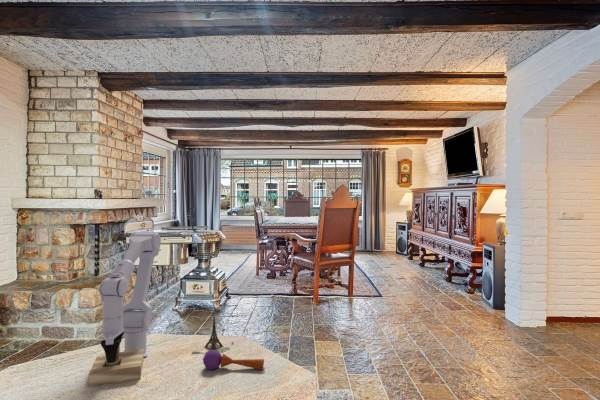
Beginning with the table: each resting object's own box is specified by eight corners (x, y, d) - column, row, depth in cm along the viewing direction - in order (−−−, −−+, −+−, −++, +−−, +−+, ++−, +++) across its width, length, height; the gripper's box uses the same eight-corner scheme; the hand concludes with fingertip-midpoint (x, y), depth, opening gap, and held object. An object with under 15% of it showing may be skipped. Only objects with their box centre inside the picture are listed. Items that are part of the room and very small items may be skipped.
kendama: (262, 362, 113) (201, 356, 114) (261, 378, 114) (200, 372, 115) (265, 351, 119) (206, 345, 119) (263, 366, 120) (206, 361, 121)
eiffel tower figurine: (190, 355, 127) (190, 318, 127) (194, 344, 137) (195, 310, 137) (232, 353, 129) (232, 317, 129) (233, 342, 139) (234, 309, 139)
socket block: (97, 366, 117) (97, 354, 117) (143, 360, 121) (143, 349, 121) (89, 386, 104) (89, 372, 104) (140, 378, 109) (140, 365, 109)
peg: (107, 370, 112) (108, 345, 112) (120, 369, 113) (121, 344, 113) (104, 375, 109) (105, 349, 109) (117, 374, 110) (118, 348, 110)
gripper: (102, 310, 116) (102, 351, 116) (94, 324, 103) (93, 371, 103) (126, 308, 119) (125, 348, 119) (121, 322, 105) (120, 367, 105)
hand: (112, 359), depth 111 cm, fingers open, 4 cm apart
